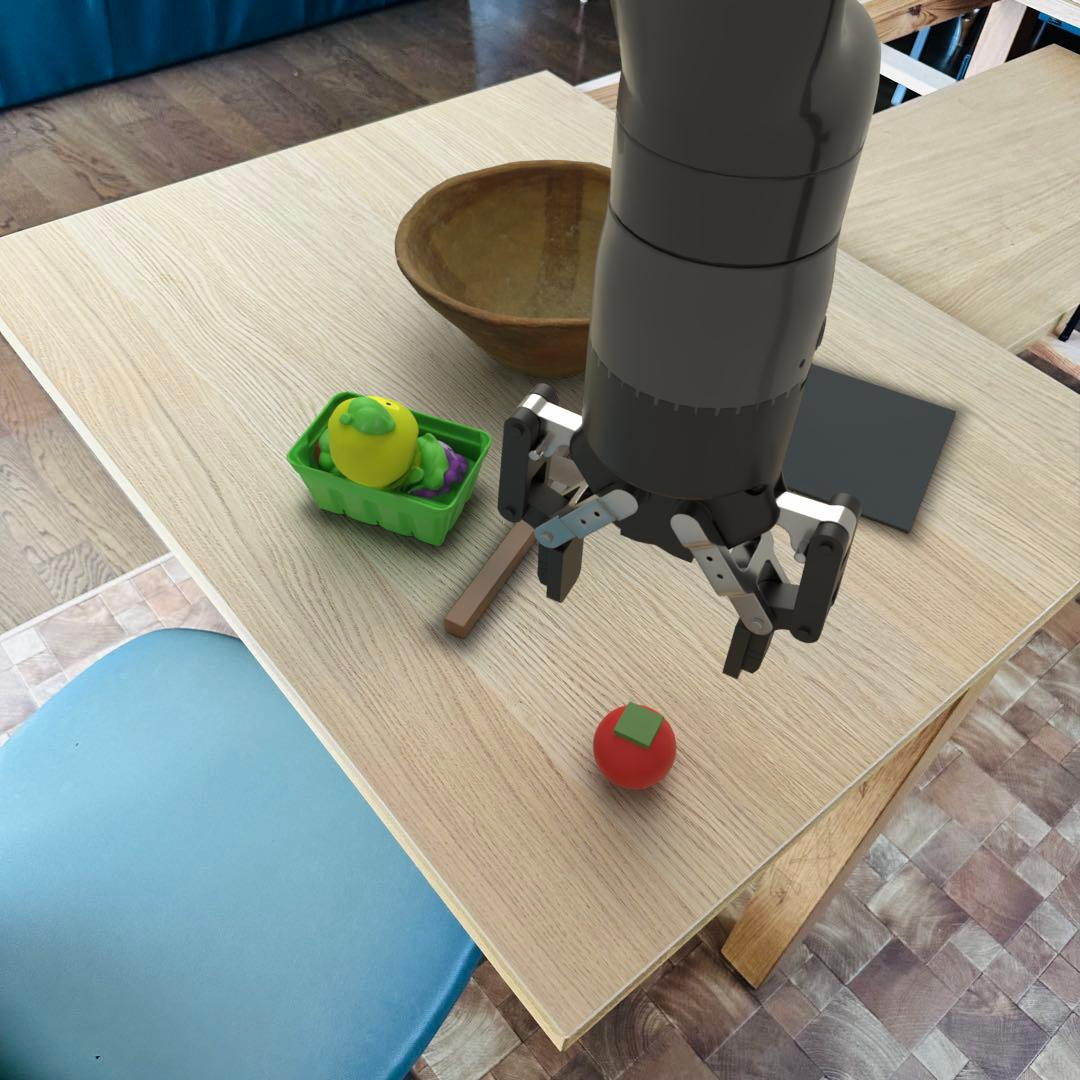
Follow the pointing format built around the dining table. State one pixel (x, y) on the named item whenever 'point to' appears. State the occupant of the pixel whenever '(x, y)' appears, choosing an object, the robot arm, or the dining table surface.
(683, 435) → the robot arm
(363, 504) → the fruit basket
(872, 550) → the dining table surface
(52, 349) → the dining table surface
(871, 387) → the placemat
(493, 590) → the fork
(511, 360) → the bowl
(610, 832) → the dining table surface
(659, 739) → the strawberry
